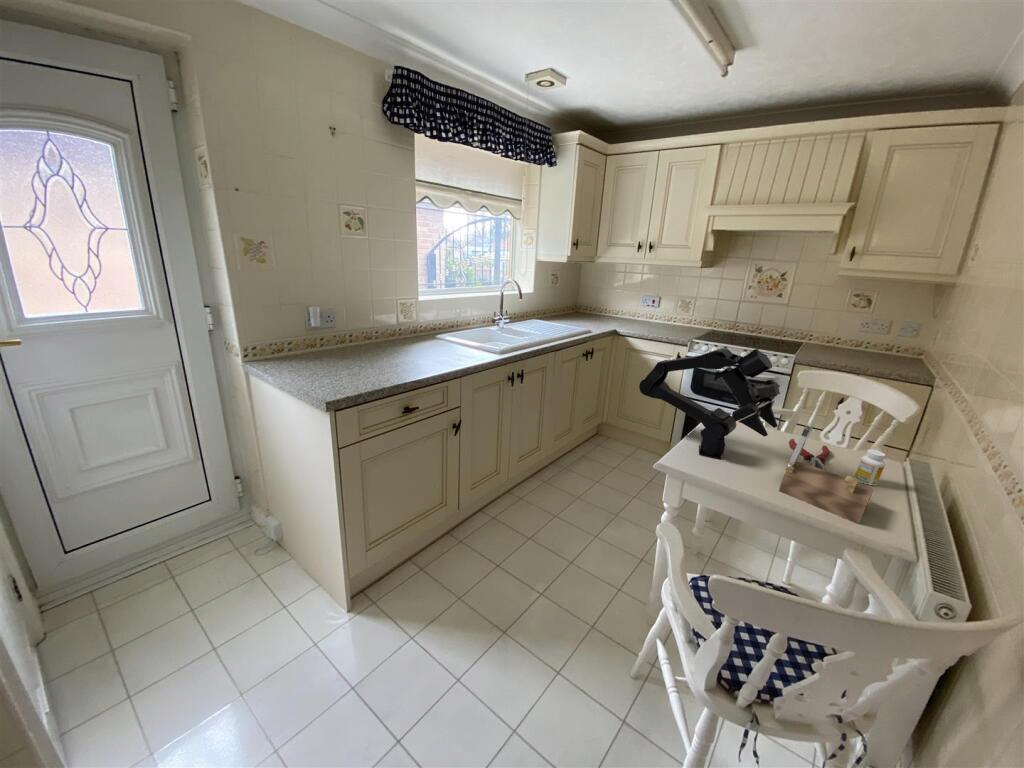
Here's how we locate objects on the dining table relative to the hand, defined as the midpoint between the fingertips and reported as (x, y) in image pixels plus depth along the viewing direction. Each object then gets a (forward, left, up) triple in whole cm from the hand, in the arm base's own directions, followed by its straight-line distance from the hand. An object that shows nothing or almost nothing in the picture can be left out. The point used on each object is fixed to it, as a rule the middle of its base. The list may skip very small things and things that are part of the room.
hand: (771, 431), depth 121 cm
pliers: (+16, +20, -15) cm, 30 cm away
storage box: (+14, -7, -14) cm, 21 cm away
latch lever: (+7, -4, -2) cm, 9 cm away
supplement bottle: (+29, +10, -14) cm, 34 cm away
